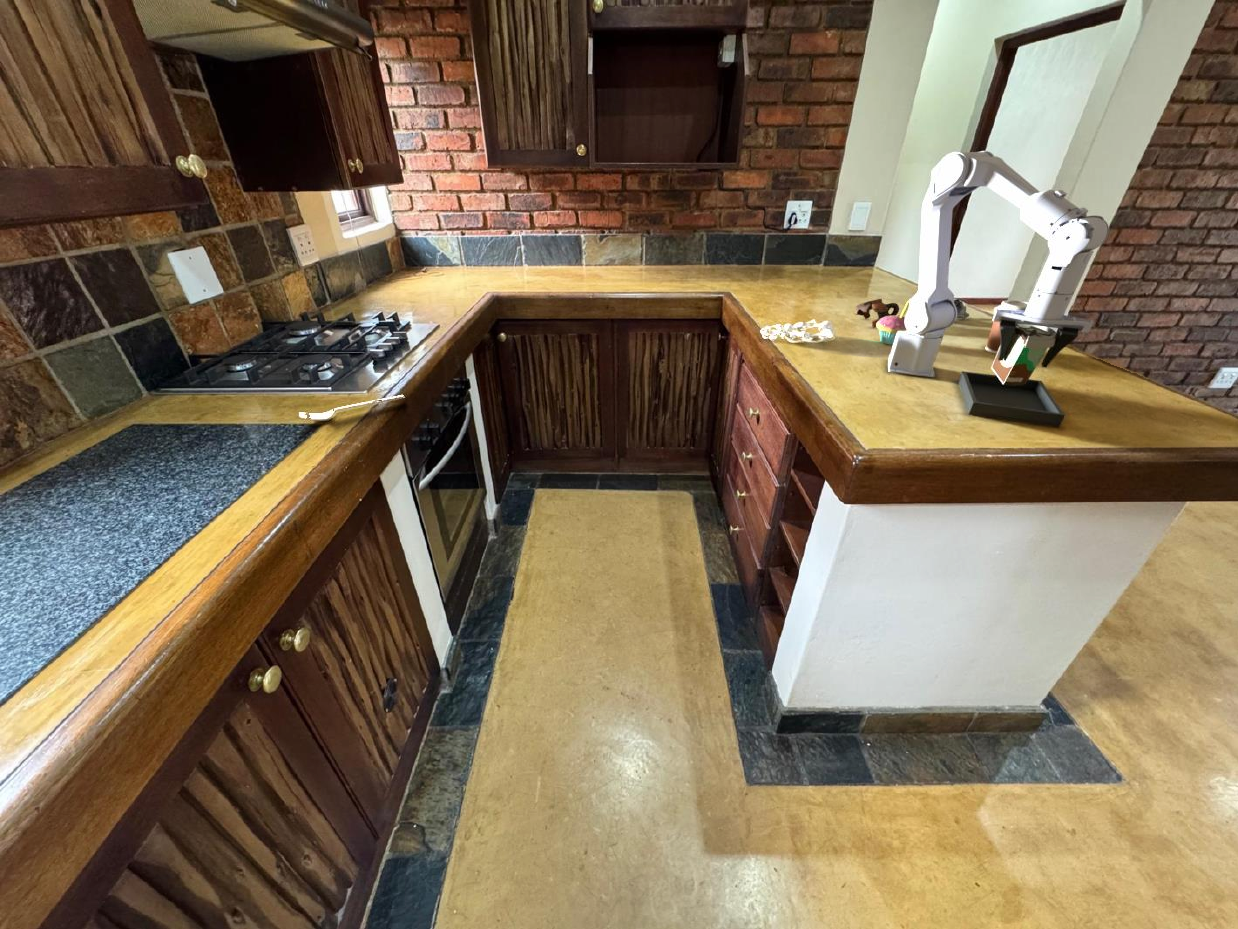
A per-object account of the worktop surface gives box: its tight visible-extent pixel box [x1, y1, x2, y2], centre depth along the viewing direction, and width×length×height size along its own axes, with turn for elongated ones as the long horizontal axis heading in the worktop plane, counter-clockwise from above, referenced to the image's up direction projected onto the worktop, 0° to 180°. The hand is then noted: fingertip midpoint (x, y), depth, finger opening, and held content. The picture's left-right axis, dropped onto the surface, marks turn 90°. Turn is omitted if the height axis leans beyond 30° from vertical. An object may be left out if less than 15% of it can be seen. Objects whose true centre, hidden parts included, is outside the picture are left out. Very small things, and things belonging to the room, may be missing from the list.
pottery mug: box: [854, 298, 900, 329], centre depth 146 cm, size 12×10×8 cm
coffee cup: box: [984, 299, 1029, 355], centre depth 123 cm, size 9×9×12 cm
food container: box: [990, 323, 1057, 385], centre depth 95 cm, size 12×6×10 cm, turn 160°
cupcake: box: [876, 297, 912, 346], centre depth 130 cm, size 9×8×12 cm
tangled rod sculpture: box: [760, 318, 836, 344], centre depth 135 cm, size 19×14×4 cm
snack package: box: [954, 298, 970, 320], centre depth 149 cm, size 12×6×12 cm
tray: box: [957, 371, 1066, 429], centre depth 100 cm, size 15×18×3 cm
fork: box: [298, 394, 406, 422], centre depth 102 cm, size 3×20×2 cm, turn 122°
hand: (1021, 362), depth 96 cm, fingers closed on food container, 6 cm apart
